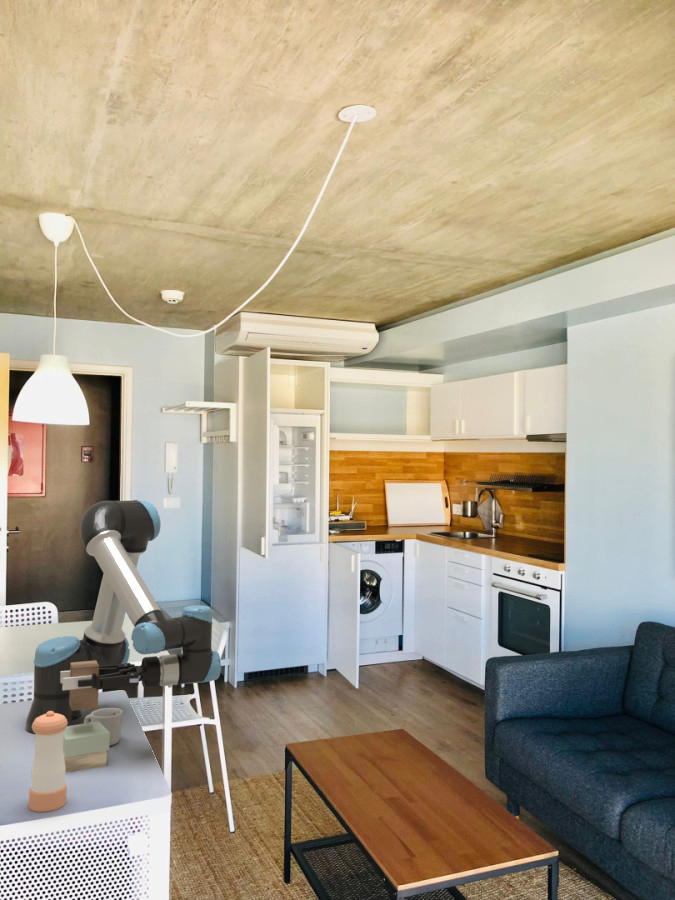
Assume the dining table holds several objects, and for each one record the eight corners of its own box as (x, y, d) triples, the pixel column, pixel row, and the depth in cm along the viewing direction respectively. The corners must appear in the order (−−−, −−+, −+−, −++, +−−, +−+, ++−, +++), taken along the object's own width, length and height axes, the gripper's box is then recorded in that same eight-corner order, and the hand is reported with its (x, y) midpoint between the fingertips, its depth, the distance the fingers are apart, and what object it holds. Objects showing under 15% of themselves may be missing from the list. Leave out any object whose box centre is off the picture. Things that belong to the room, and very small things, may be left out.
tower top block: (56, 744, 180) (57, 727, 180) (98, 737, 185) (99, 721, 185) (65, 757, 171) (66, 739, 171) (109, 749, 176) (109, 732, 177)
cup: (74, 745, 190) (75, 713, 190) (94, 735, 197) (95, 704, 197) (109, 750, 186) (109, 718, 186) (128, 740, 193) (129, 709, 194)
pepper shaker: (35, 797, 158) (38, 706, 159) (70, 796, 158) (72, 706, 159) (23, 812, 150) (26, 717, 151) (60, 811, 151) (62, 716, 152)
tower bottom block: (58, 759, 180) (58, 743, 181) (101, 753, 185) (101, 737, 185) (61, 774, 171) (62, 756, 172) (106, 767, 176) (106, 750, 176)
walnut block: (69, 703, 180) (70, 662, 181) (95, 701, 183) (96, 660, 183) (71, 710, 175) (72, 668, 175) (97, 707, 177) (99, 665, 178)
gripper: (166, 696, 178) (64, 707, 168) (151, 677, 195) (58, 686, 185) (166, 664, 178) (65, 674, 168) (152, 648, 195) (59, 656, 186)
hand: (61, 680), depth 177 cm, fingers closed on walnut block, 6 cm apart
